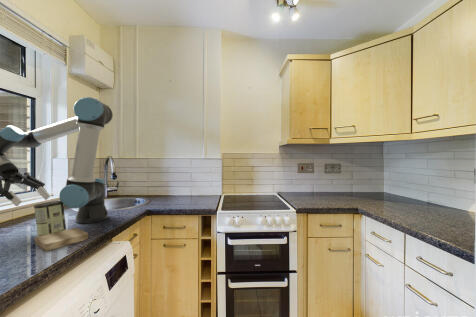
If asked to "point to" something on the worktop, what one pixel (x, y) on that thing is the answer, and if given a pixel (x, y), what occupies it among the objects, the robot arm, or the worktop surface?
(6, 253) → the worktop surface
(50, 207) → the coffee can
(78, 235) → the chopping board
